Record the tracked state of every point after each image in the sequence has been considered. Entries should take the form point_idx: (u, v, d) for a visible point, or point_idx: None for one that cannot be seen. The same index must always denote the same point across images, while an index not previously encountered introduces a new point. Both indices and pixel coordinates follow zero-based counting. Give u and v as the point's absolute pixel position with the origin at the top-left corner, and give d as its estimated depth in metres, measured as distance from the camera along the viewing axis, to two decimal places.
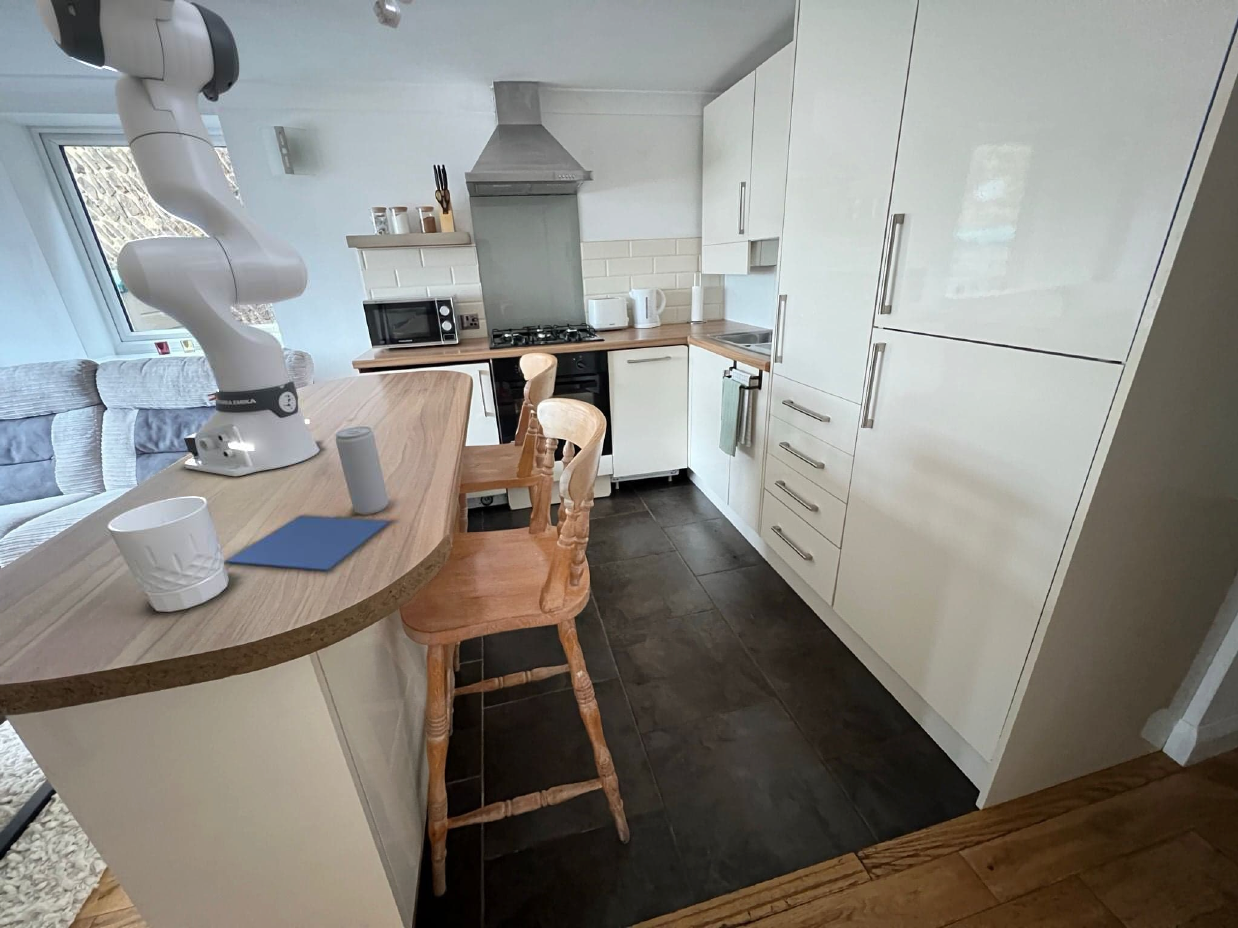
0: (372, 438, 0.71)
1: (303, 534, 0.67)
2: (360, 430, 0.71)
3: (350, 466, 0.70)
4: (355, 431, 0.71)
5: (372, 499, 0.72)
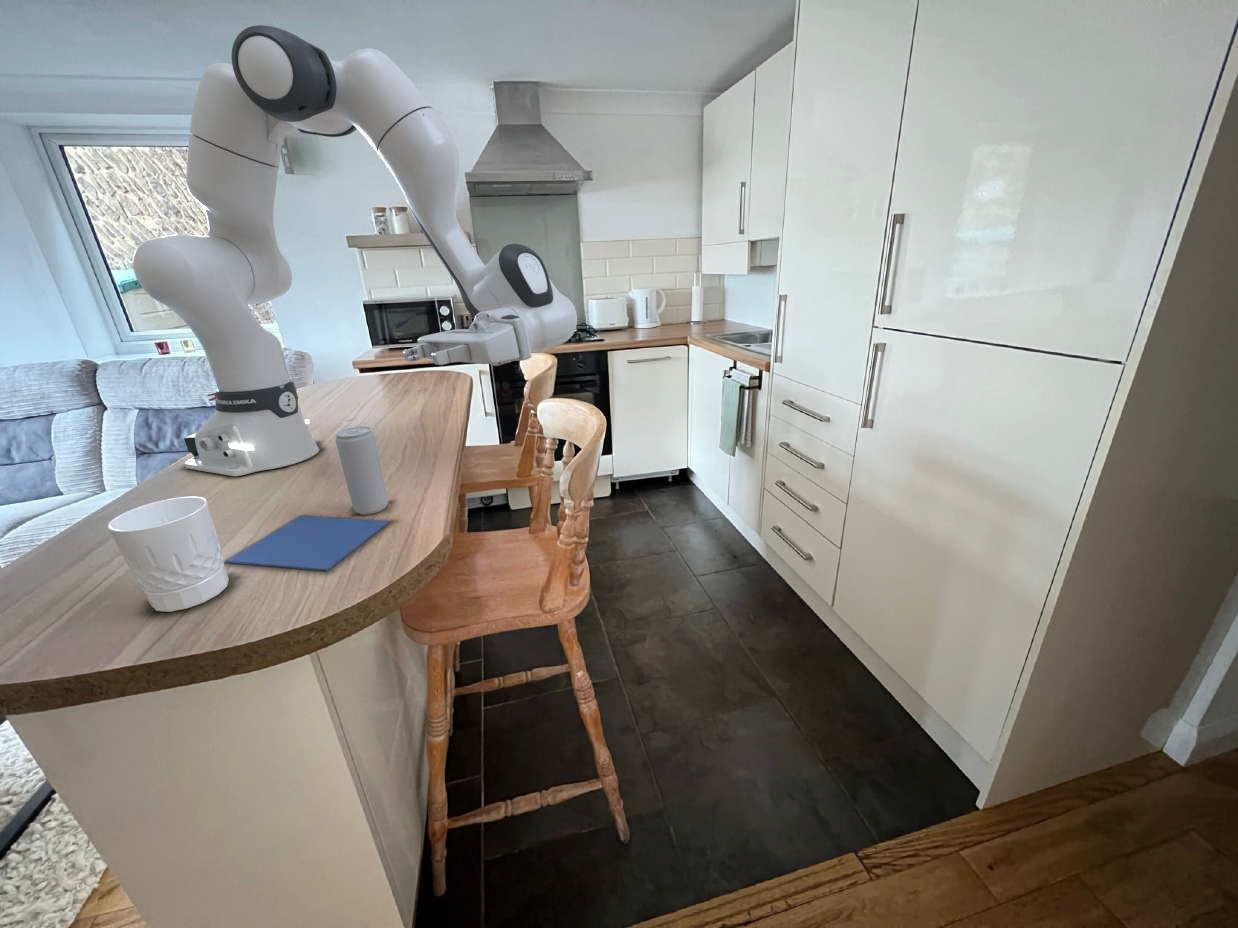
0: (372, 438, 0.71)
1: (303, 534, 0.67)
2: (360, 430, 0.71)
3: (350, 466, 0.70)
4: (355, 431, 0.71)
5: (372, 499, 0.72)
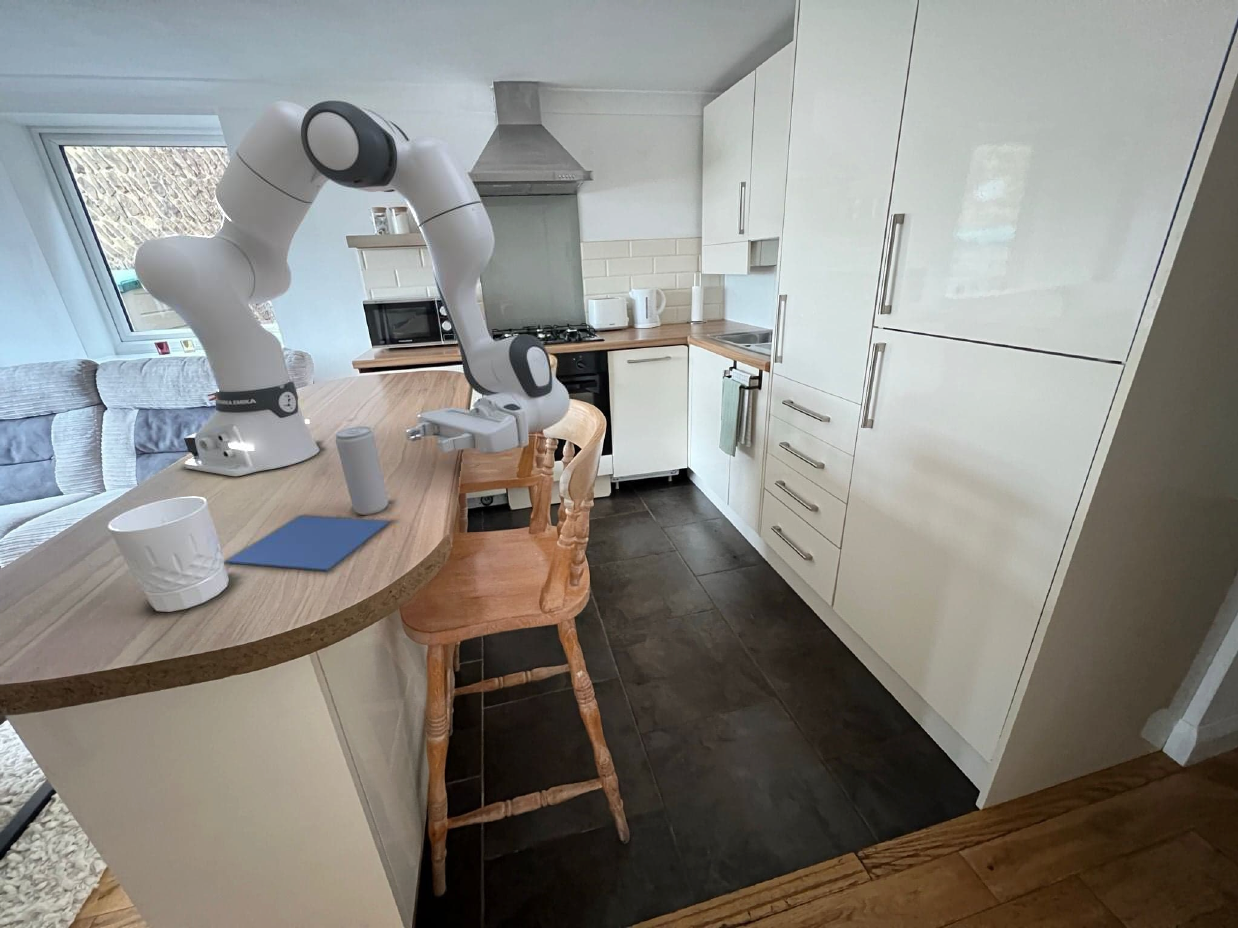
0: (372, 438, 0.71)
1: (303, 534, 0.67)
2: (360, 430, 0.71)
3: (350, 466, 0.70)
4: (355, 431, 0.71)
5: (372, 499, 0.72)
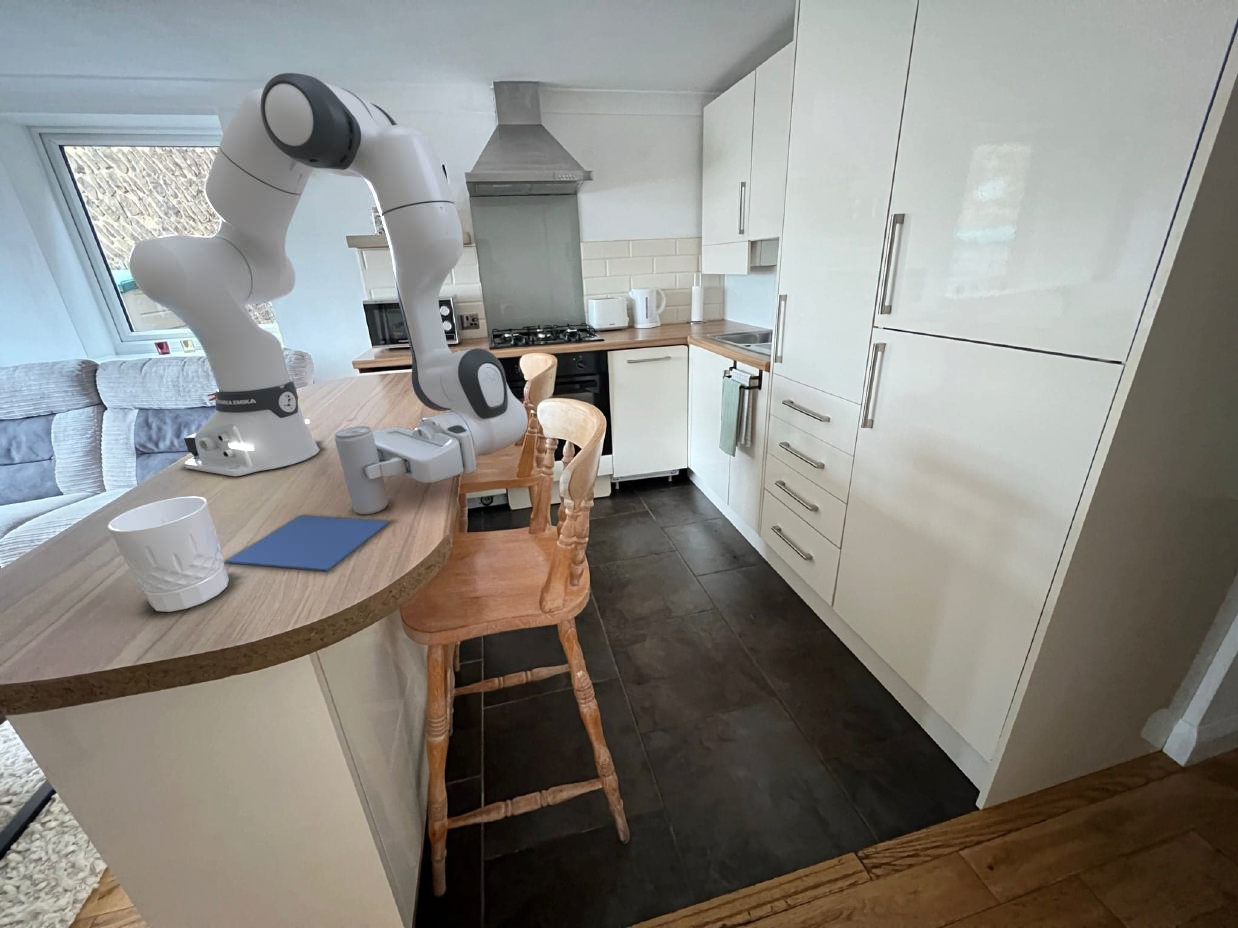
0: (371, 437, 0.71)
1: (303, 534, 0.67)
2: (359, 430, 0.71)
3: (349, 466, 0.70)
4: (354, 431, 0.71)
5: (372, 499, 0.72)
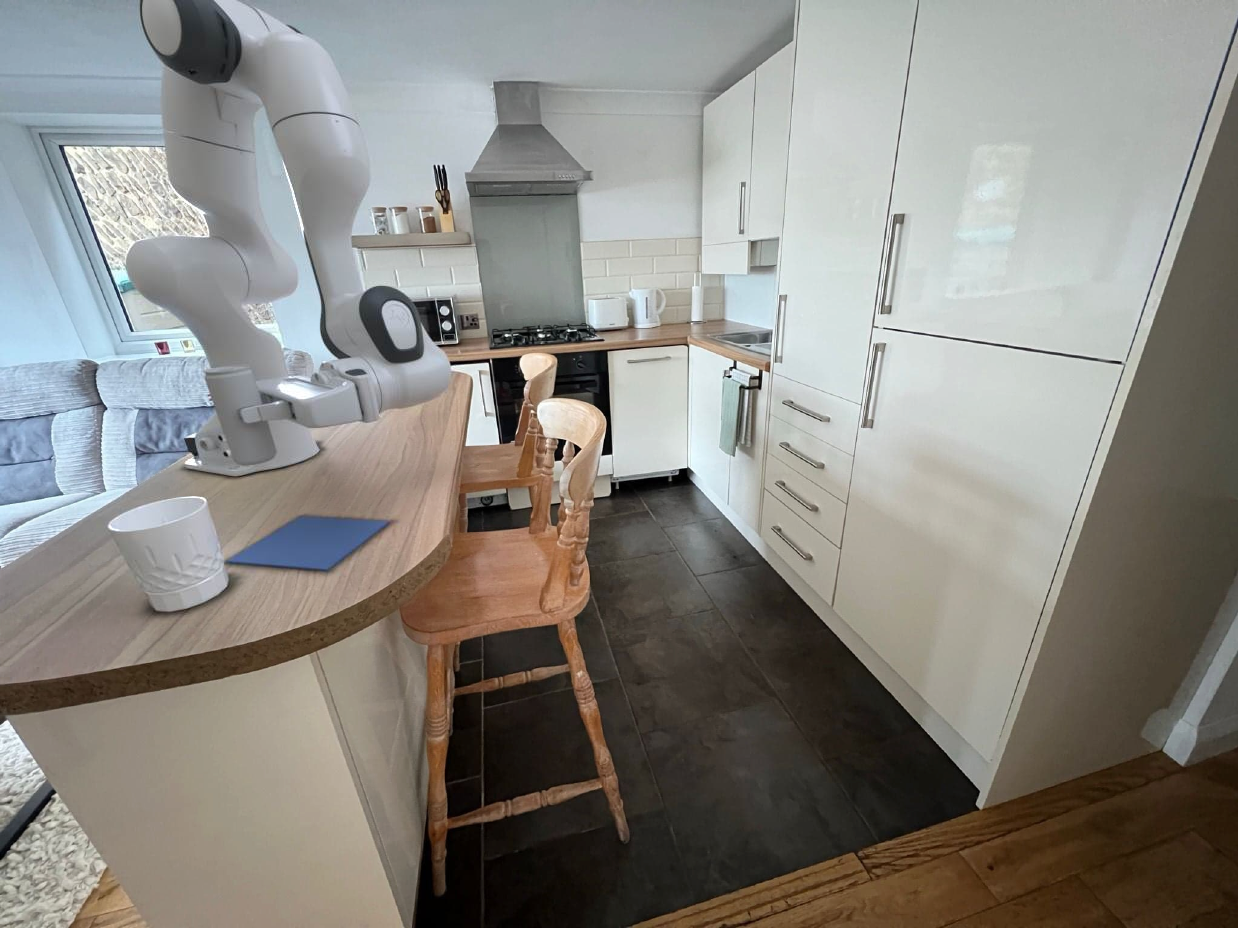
0: (249, 376, 0.62)
1: (303, 534, 0.67)
2: (236, 368, 0.62)
3: (222, 408, 0.61)
4: (229, 368, 0.62)
5: (252, 447, 0.63)
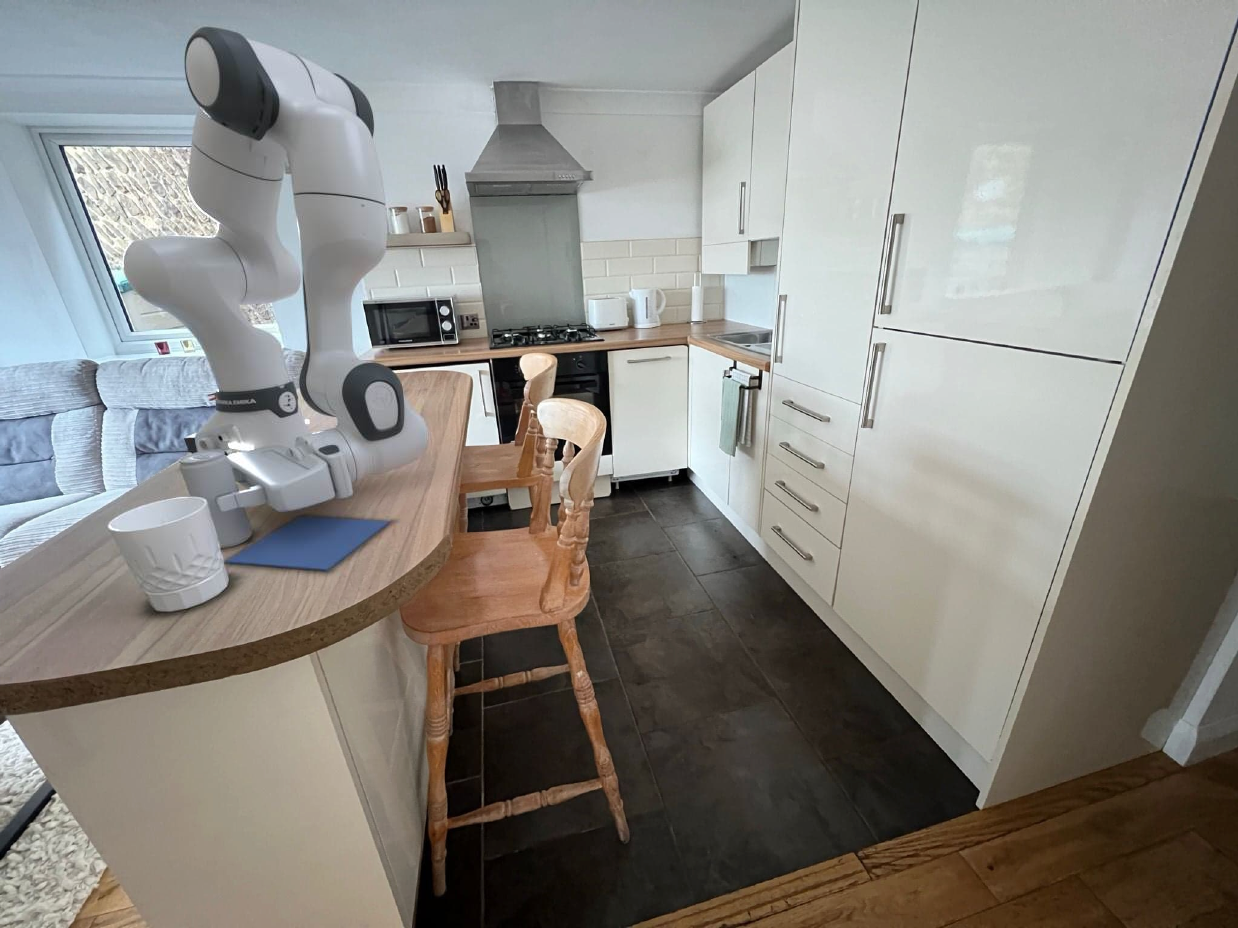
0: (224, 463, 0.63)
1: (303, 534, 0.67)
2: (211, 454, 0.63)
3: (196, 495, 0.62)
4: (204, 455, 0.63)
5: (226, 531, 0.64)
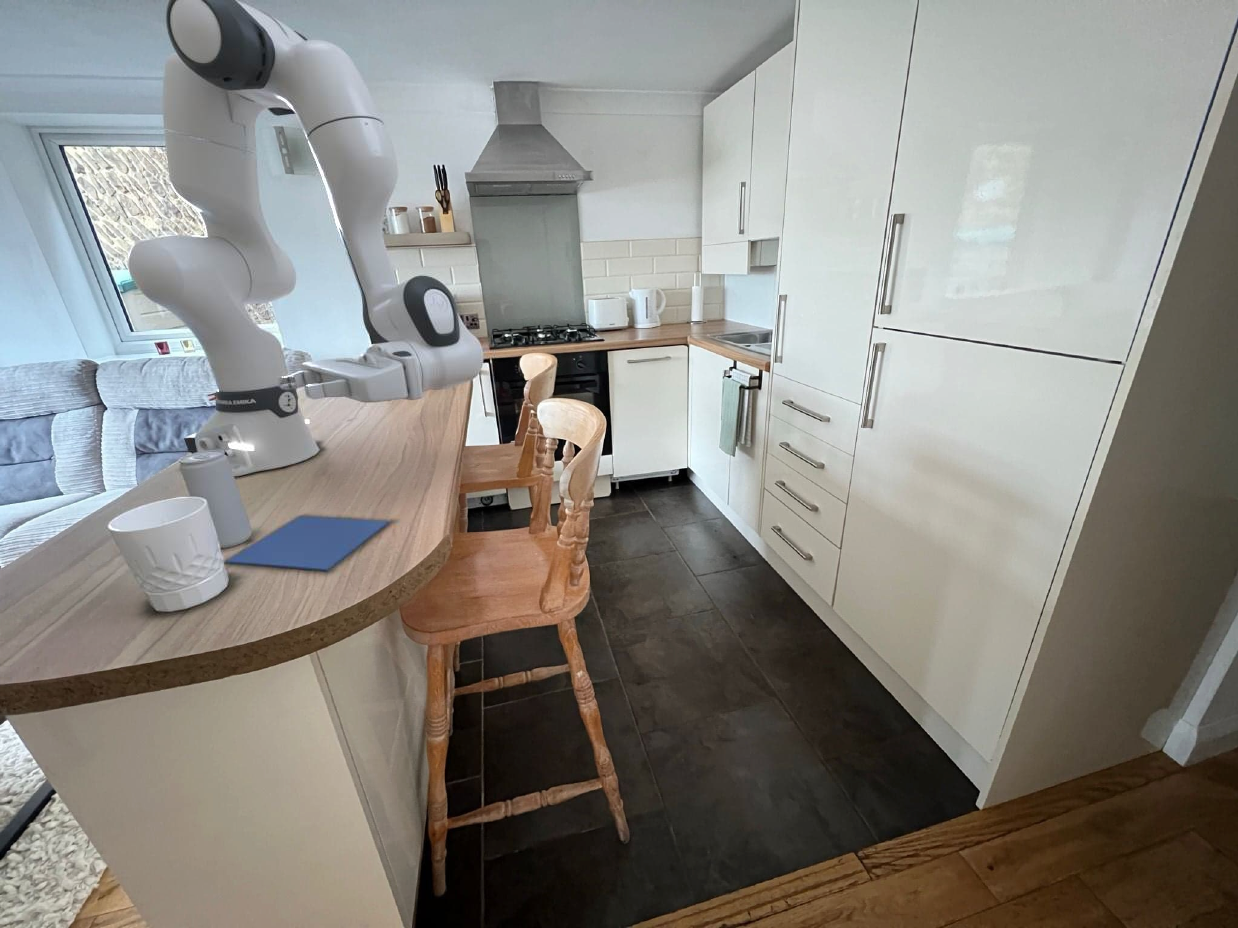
0: (224, 463, 0.63)
1: (303, 534, 0.67)
2: (211, 454, 0.63)
3: (196, 495, 0.62)
4: (204, 455, 0.63)
5: (227, 531, 0.64)
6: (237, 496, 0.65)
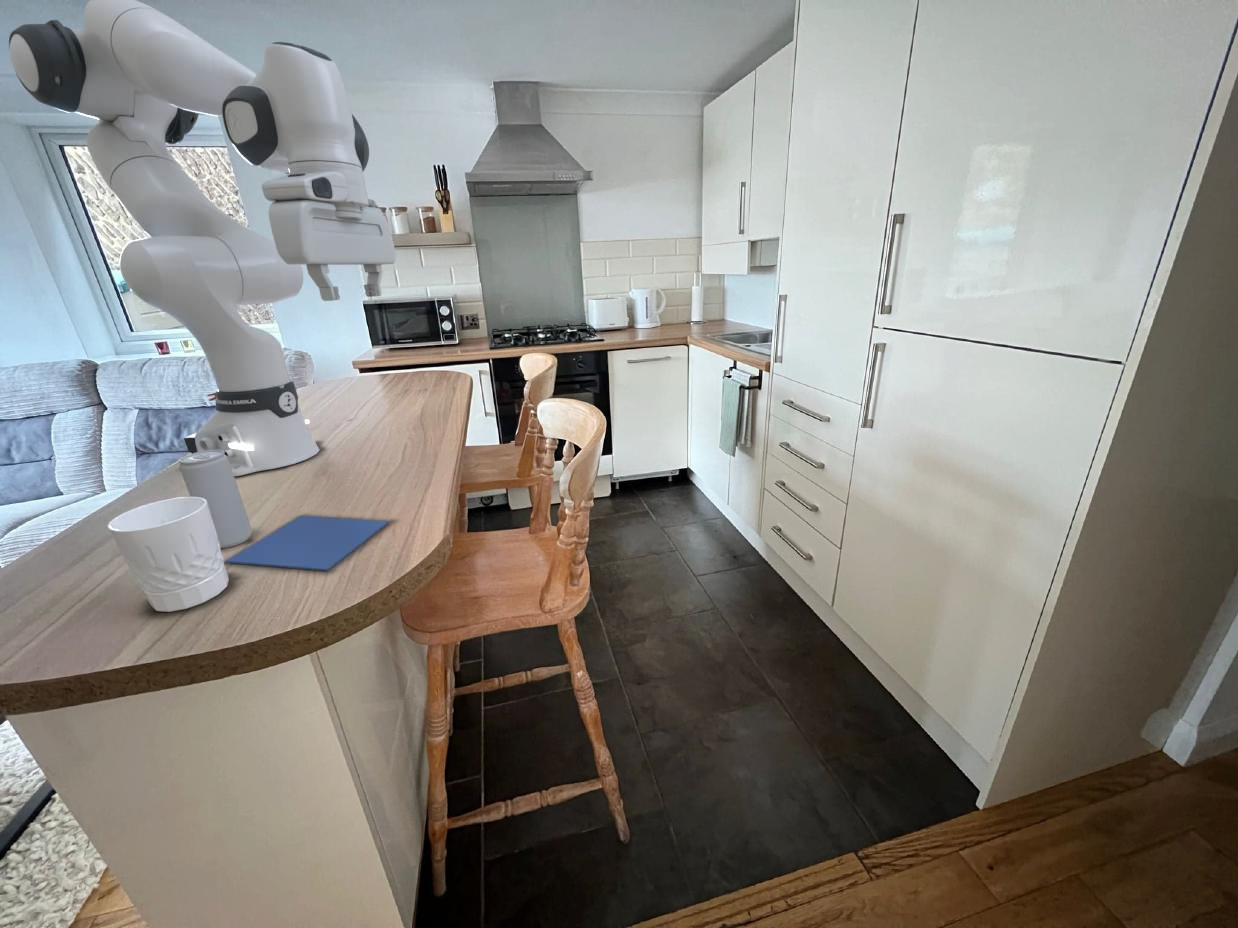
0: (224, 463, 0.63)
1: (303, 534, 0.67)
2: (211, 454, 0.63)
3: (196, 495, 0.62)
4: (204, 455, 0.63)
5: (226, 531, 0.64)
6: (237, 496, 0.65)
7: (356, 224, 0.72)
